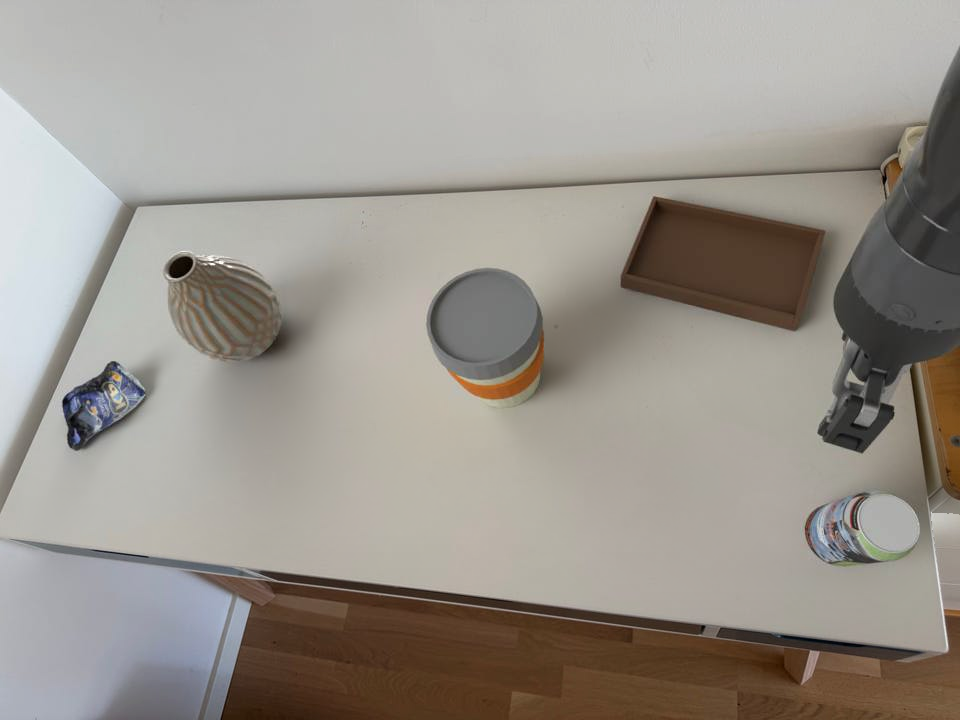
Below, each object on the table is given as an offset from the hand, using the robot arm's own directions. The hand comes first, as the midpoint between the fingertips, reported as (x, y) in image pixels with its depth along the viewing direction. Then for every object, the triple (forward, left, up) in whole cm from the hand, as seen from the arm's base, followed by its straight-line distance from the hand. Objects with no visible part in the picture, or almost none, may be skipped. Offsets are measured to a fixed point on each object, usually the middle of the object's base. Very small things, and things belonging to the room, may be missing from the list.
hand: (844, 386), depth 51 cm
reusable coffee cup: (+34, 0, -22) cm, 40 cm away
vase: (+71, +6, -22) cm, 74 cm away
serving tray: (+14, -23, -22) cm, 35 cm away
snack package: (+86, +24, -22) cm, 91 cm away
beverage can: (-6, +6, -22) cm, 24 cm away
